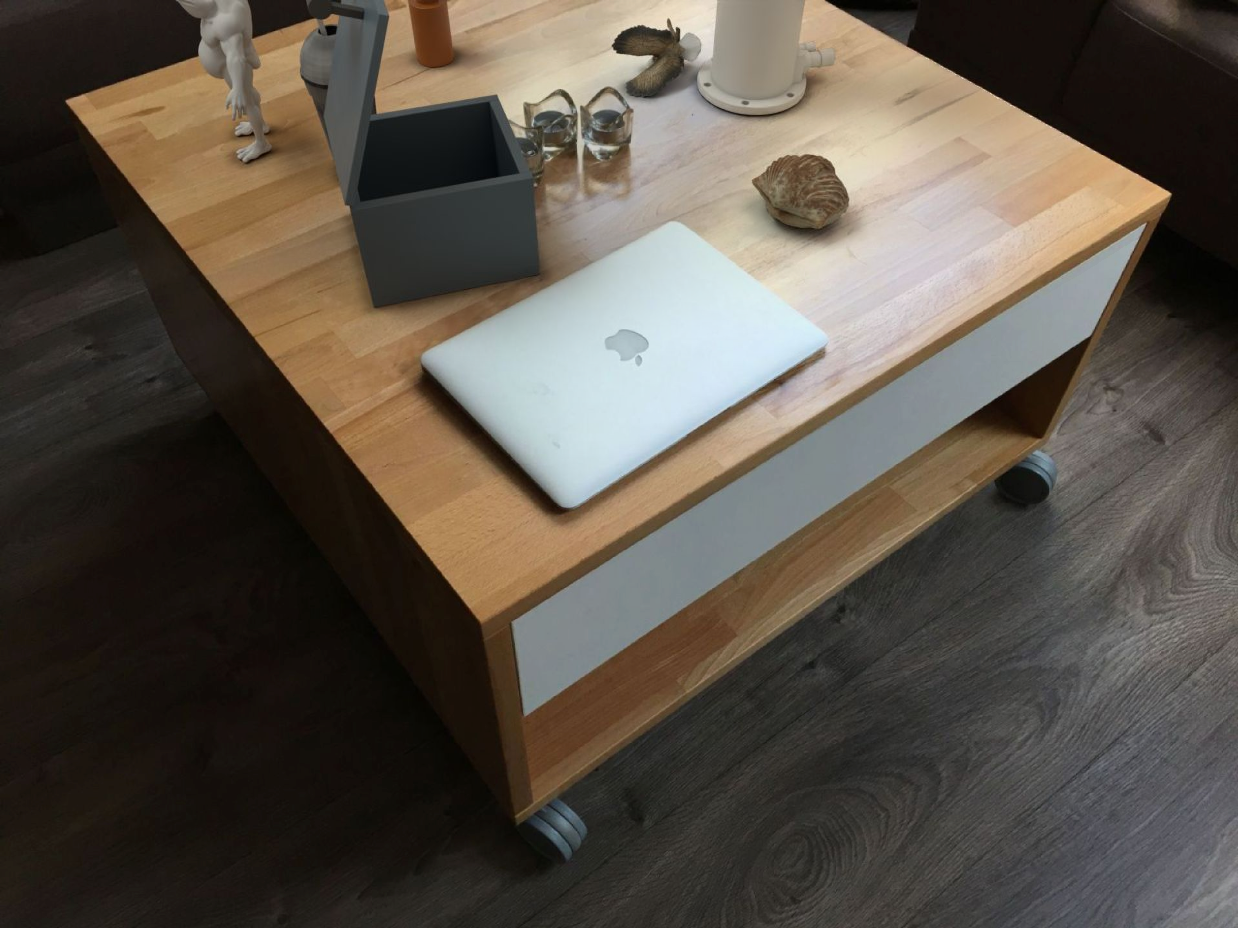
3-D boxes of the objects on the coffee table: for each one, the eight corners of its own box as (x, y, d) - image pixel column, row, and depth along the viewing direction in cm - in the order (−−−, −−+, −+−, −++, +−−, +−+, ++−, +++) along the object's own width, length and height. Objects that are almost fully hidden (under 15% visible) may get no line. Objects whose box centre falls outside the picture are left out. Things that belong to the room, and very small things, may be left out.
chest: (506, 190, 106) (496, 94, 98) (540, 274, 98) (533, 177, 89) (352, 218, 103) (328, 121, 95) (373, 307, 95) (350, 210, 86)
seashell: (802, 259, 101) (855, 220, 104) (812, 204, 95) (868, 165, 98) (735, 211, 105) (788, 175, 108) (740, 156, 99) (796, 120, 102)
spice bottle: (449, 46, 125) (439, -34, 117) (457, 64, 122) (447, -16, 114) (414, 51, 124) (401, -28, 116) (420, 70, 121) (408, -10, 114)
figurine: (220, 103, 116) (167, -59, 102) (280, 95, 117) (236, -67, 103) (225, 196, 105) (167, 29, 91) (292, 186, 107) (244, 19, 93)
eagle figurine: (650, 40, 123) (598, 54, 118) (683, 0, 118) (630, 13, 112) (683, 94, 123) (632, 110, 118) (717, 57, 118) (666, 72, 112)
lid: (361, -66, 83) (298, -81, 81) (389, 15, 75) (320, 2, 73) (332, 117, 95) (276, 109, 92) (354, 207, 86) (292, 200, 84)
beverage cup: (381, 194, 106) (341, 5, 90) (314, 185, 107) (264, -3, 91) (404, 154, 110) (370, -32, 95) (340, 146, 111) (296, -40, 96)
